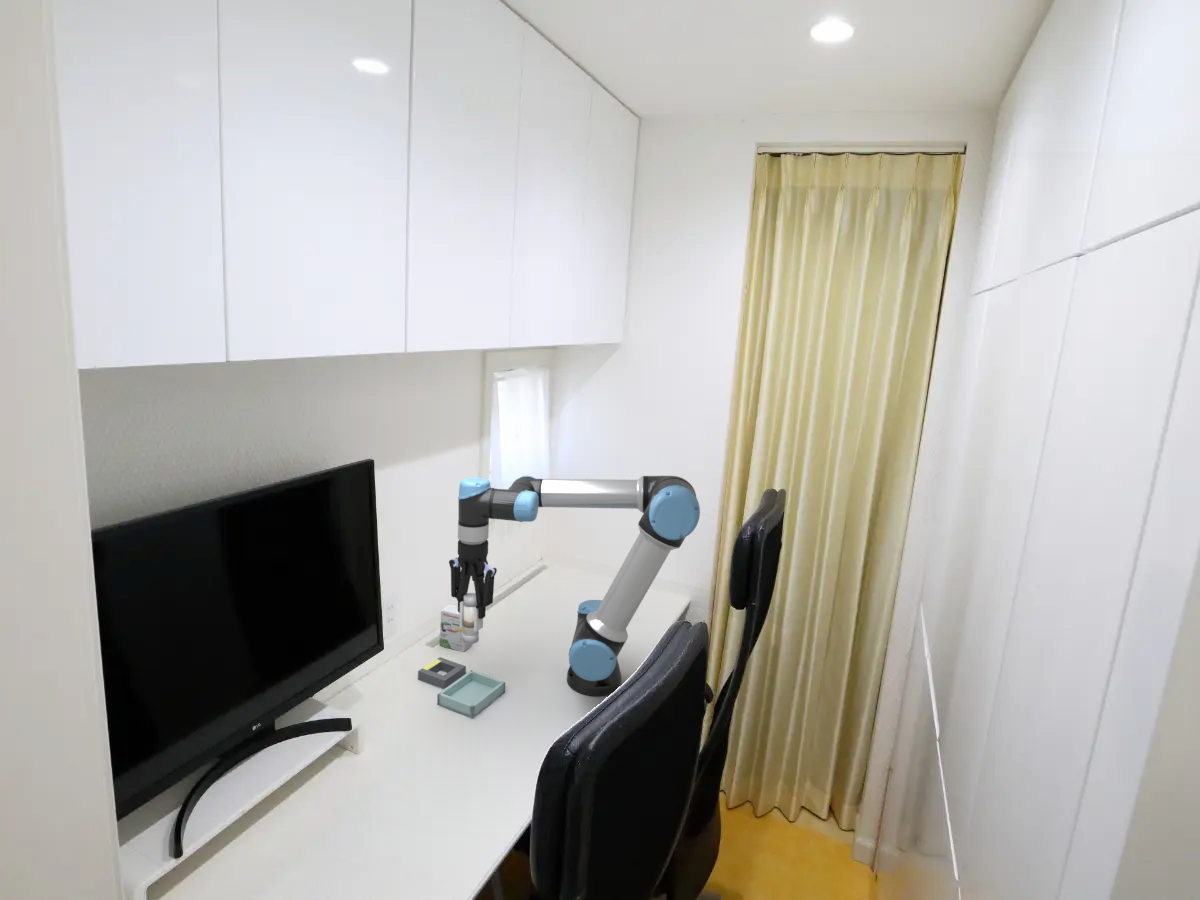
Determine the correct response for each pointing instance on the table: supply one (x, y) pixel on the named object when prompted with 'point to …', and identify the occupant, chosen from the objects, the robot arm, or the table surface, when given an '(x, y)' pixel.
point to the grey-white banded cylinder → (469, 619)
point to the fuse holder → (441, 681)
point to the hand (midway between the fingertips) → (471, 626)
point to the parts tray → (471, 693)
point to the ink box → (452, 629)
